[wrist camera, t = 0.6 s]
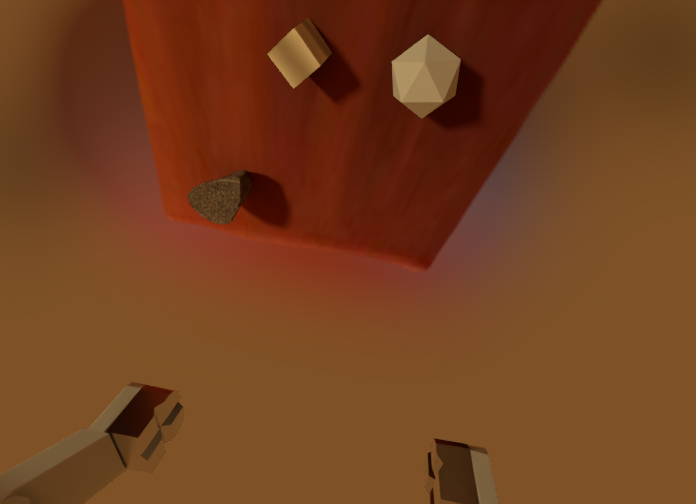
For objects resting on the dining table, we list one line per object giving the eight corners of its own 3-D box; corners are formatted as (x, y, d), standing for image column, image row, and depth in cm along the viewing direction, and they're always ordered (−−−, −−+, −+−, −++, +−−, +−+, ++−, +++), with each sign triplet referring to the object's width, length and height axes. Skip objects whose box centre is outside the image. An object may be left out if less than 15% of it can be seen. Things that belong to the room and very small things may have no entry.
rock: (230, 156, 57) (251, 208, 57) (260, 164, 66) (278, 209, 66) (178, 184, 60) (198, 234, 60) (213, 188, 70) (230, 231, 70)
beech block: (308, 17, 44) (294, 27, 40) (332, 52, 46) (320, 65, 42) (283, 42, 47) (267, 54, 43) (306, 74, 49) (293, 88, 45)
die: (391, 98, 50) (422, 141, 45) (370, 53, 42) (403, 99, 38) (441, 63, 47) (477, 104, 43) (427, 8, 40) (469, 51, 36)
